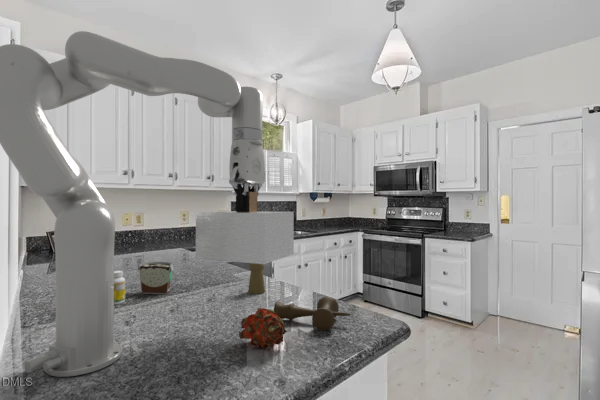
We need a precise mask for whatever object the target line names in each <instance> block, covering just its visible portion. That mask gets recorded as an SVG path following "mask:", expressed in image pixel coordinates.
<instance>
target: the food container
mask: <svg viewBox="0 0 600 400" xmlns="http://www.w3.org/2000/svg"><path fill="white" fill-rule="evenodd" d="M137 267H138V268H137V271H139V279H140V290H141V291H140V293H141V294H145V295H146V294H148V295H150V294H152V295H153V294H154V295H168V294H169V293H170V288H171V281H172V280H171V279H172V271H174V265H173V263H172V262H169V261H153V262H143V263H139V264H138V266H137Z"/></svg>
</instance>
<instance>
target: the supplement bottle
mask: <svg viewBox="0 0 600 400" xmlns="http://www.w3.org/2000/svg"><path fill="white" fill-rule="evenodd" d="M123 276H124V272H123V271H122V270H114V306H115V305H120V304H123V303H125V301H126V278H125V277H123Z"/></svg>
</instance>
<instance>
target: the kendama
mask: <svg viewBox="0 0 600 400" xmlns="http://www.w3.org/2000/svg"><path fill="white" fill-rule="evenodd" d="M339 309H340V308H339V302H338V301H337V300H336V299H335V298H333V297H332V296H331V297H330V296H324V297H321V298H319V300H318V301H317V304H316V309H312V308H311V309H310V308H306V307H300V306H297V305H295V304H294V303H293V302H292V303H289V304H285V303H282V302H281V301H279V300H278V301H276V302H275V303H274V306H273V311H274V312H275V313H276V314H277V315H278V317H280V318H281V319H282V320H283V319H285V320H286V319H288V320H289V321H293V320H294V319H297V318H305V317H311V319H312V320H311V321H312V325H313V326H314V327H315V329H317V330H318V331H319V330H320V331H329V330H331V329H332V328H333V326H334V324H335V318H336V317H348V316H351V313H350V312H343V311H342V312H341V311H339Z"/></svg>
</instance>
